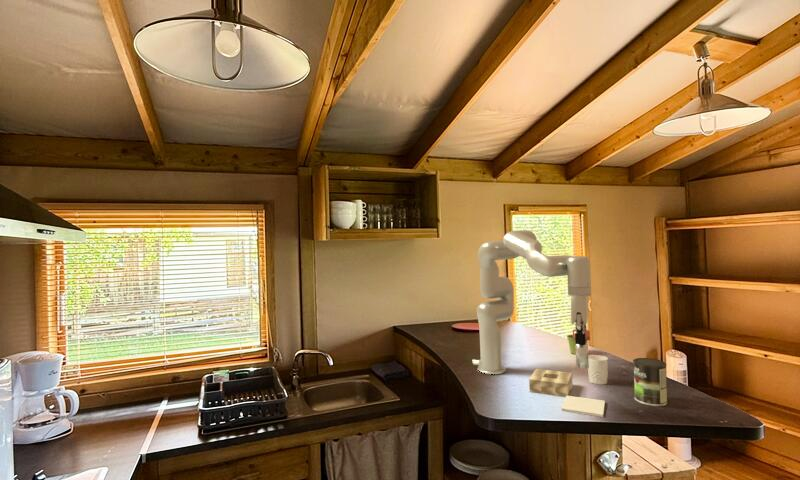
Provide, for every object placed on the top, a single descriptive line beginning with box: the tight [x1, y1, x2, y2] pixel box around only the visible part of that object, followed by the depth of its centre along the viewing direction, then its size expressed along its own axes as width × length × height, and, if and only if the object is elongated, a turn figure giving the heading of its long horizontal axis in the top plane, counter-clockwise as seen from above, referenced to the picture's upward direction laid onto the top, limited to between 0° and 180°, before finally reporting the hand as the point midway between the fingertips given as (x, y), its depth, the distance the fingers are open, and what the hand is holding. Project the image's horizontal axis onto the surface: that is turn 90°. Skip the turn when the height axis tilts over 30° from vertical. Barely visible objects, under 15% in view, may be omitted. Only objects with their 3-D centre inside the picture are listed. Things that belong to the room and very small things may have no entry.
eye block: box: [528, 368, 573, 398], centre depth 166 cm, size 14×14×5 cm
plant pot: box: [566, 334, 576, 356], centre depth 213 cm, size 9×9×9 cm
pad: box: [560, 395, 606, 418], centre depth 147 cm, size 13×13×1 cm
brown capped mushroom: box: [572, 328, 591, 370], centre depth 147 cm, size 6×6×13 cm
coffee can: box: [632, 357, 668, 407], centre depth 150 cm, size 10×10×14 cm
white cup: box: [587, 354, 609, 386], centre depth 171 cm, size 8×8×10 cm
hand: (581, 341), depth 147 cm, fingers closed on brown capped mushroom, 5 cm apart
